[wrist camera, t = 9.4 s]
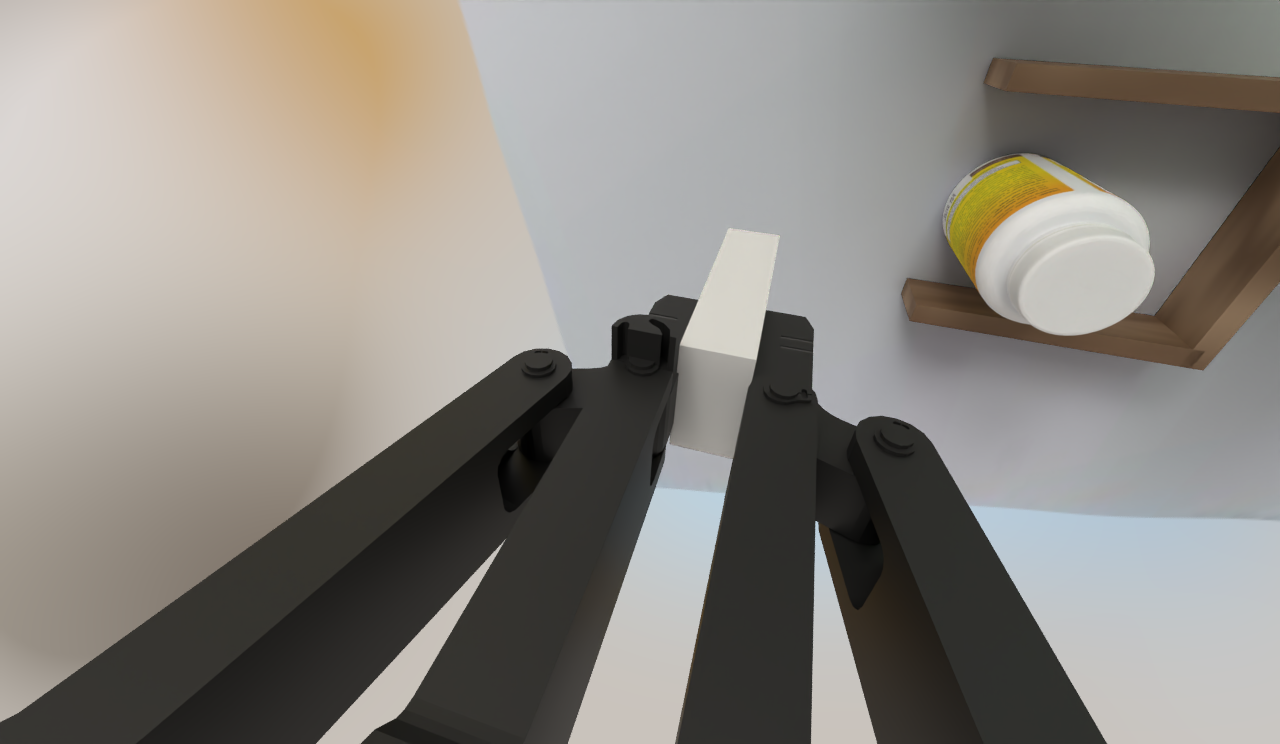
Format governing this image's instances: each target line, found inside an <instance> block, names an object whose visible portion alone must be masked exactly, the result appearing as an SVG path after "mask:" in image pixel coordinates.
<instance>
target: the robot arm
mask: <svg viewBox="0 0 1280 744" xmlns="http://www.w3.org/2000/svg"><path fill="white" fill-rule="evenodd" d="M779 238H780V235H774V234H767V233H760V232H753V231H746V230H739V229H732V228H729V229H728V231H727V233H726V236H725V238H724V241H723V243H722V245H721V248H720V250H719V252H718V255H717V257H716V260H715V262H714V264H713V267H712V269H711V271H710V274H709V276H708V279H707V281H706V283H705V286H704V288H703V291H702V293H701V295H700V298H699V300H695V299H690V298H684V297H678V296H672V295H667V296H665V297H664V298H662V299H660V300H659V301H657V302H655V304H654V306H653V308H652V309H651V311H650V313H649V315H641V314H639V315H632V316H627V317H624V318H622V319H619V320H617V321H616V322H615V323H614V324H613V325H612V360H611V361H610V363H609V365H608V366H606V367H602V368H592V369H572V363H571V361H570V359H569V358H568V356H566V355H565V354H563V353H561V352H560V351H556V350H552V349H533V350H529V351H524V352H523V353H520V354H518V355H516V356H515V357H513V358H512V359H510V360H509V361H507V362H506V363H505V364H503V365H502V366H501V367H499V368H498V369H496V370H495V371H494V372H492V373H491V374H489V375H488V376H487V377H485V378H484V379H482V380H481V381H480V382H478V383H477V384H475V385H474V386H473V387H472V388H470V389H469V390H467V391H466V392H464V393H463V394H462V395H460V396H459V397H457V398H456V399H455V400H453V401H452V402H451V403H449V404H448V405H446V406H445V407H443V408H442V409H441V410H439V411H438V412H437V413H435V414H434V415H432V416H431V417H430V418H428V419H427V420H425V421H424V422H423V423H421V424H420V425H419V426H417V427H416V428H414V429H413V430H411V431H410V432H409V433H407V434H406V435H405V436H403V437H402V438H400V439H399V440H398V441H396V442H395V443H393V444H392V445H391V446H389V447H388V448H387V449H385V450H384V451H382V452H381V453H380V454H378V455H377V456H375V457H374V458H373V459H371V460H370V461H369V462H367V463H366V464H364V465H363V466H361V467H360V468H359V469H357V470H356V471H354V472H353V473H352V474H350V475H349V476H347V477H346V478H345V479H343V480H342V481H341V482H339V483H338V484H336V485H335V486H334V487H332V488H331V489H329V490H328V491H327V492H325V493H324V494H323V495H321V496H320V497H318V498H317V499H316V500H314V501H313V502H312V503H310V504H309V505H307V506H306V507H304V508H303V509H302V510H300V511H299V512H297V513H296V514H295V515H293V516H292V517H291V518H289V519H288V520H286V521H285V522H284V523H282V524H281V525H279V526H278V527H277V528H275V529H274V530H272V531H271V532H270V533H268V534H267V535H266V536H264V537H263V538H262V539H260V540H259V541H257V542H256V543H254V544H253V545H252V546H250V547H249V548H247V549H246V550H245V551H243V552H242V553H240V554H239V555H238V556H236V557H235V558H233V559H232V560H231V561H229V562H228V563H227V564H225V565H224V566H222V567H221V568H220V569H218V570H217V571H215V572H214V573H213V574H211V575H210V576H208V577H207V578H206V579H204V580H203V581H202V582H200V583H199V584H197V585H196V586H194V587H193V588H192V589H190V590H189V591H188V592H186V593H185V594H183V595H182V596H181V597H179V598H178V599H176V600H175V601H174V602H172V603H171V604H170V605H168V606H167V607H165V608H164V609H162V610H161V611H160V612H158V613H157V614H156V615H154V616H153V617H151V618H150V619H149V620H147V621H146V622H145V623H143V624H142V625H140V626H139V627H138V628H136V629H135V630H133V631H132V632H130V633H129V634H128V635H126V636H125V637H124V638H122V639H121V640H119V641H118V642H117V643H115V644H114V645H112V646H111V647H110V648H108V649H107V650H105V651H104V652H103V653H101V654H100V655H99V656H97V657H96V658H94V659H93V660H92V661H90V662H89V663H87V664H86V665H85V666H83V667H82V668H80V669H79V670H78V671H76V672H75V673H73V674H72V675H71V676H69V677H68V678H67V679H65V680H64V681H62V682H61V683H60V684H58V685H57V686H55V687H54V688H53V689H51V690H50V691H48V692H47V693H46V694H44V695H43V696H42V697H40V698H39V699H37V700H36V701H35V702H33V703H32V704H30V705H29V706H28V707H26V708H25V709H23V710H22V711H21V712H19V713H17V714H16V715H14V716H12V717H10V718H8V719H6V720H4V721H2V722H0V744H316V743H317V742H318V741H319V740H320V739H321V737H322V736H323V735H324V734H325V733H326V732H327V731H328V730H329V729H330V728H331V727H332V726H333V724H334V723H335V722H336V721H337V720H338V719H339V718H340V717H341V716H342V715H343V714H344V713H345V712H346V711H347V709H348V708H349V707H350V706H351V705H352V704H353V703H354V702H355V701H356V700H357V699H358V697H360V695H361V694H362V693H363V692H364V691H365V690H366V689H367V688H368V687H369V686H370V685H371V684H372V683H373V681H374V680H375V679H376V678H377V677H378V676H379V675H380V674H381V673H382V672H383V671H384V670H385V669H386V667H387V666H388V665H389V664H390V663H391V662H392V661H393V660H394V659H395V658H396V657H397V655H399V653H400V652H401V651H402V650H403V649H404V648H405V647H406V646H407V645H408V644H409V643H410V642H411V641H412V639H413V638H414V637H415V636H416V635H417V634H418V633H419V632H420V631H421V629H423V628H424V627H425V625H426V624H427V623H428V622H429V621H430V620H431V619H432V618H433V617H434V616H435V615H436V614H437V612H438V611H439V610H440V609H441V608H442V607H443V606H444V605H445V604H446V603H447V602H448V601H449V600H450V598H451V597H452V596H453V595H454V594H455V593H456V592H457V591H458V590H459V589H460V588H461V587H462V586H463V584H464V583H465V582H466V581H467V580H468V579H469V578H470V577H471V576H472V575H473V574H474V572H476V570H477V569H478V568H479V567H480V566H481V565H482V564H483V563H484V562H485V560H487V559H488V557H489V556H490V555H491V554H492V553H493V552H494V551H495V550H496V549H497V548H498V547H499V545H501V544H502V542H503V541H504V540H505V539H506V540H505V542H504V543H503V545H502V547H501V549H500V550H499V552H498V554H497V555H496V557H495V559H494V560H493V562H492V564H491V565H490V567H489V569H488V571H487V572H486V574H485V576H484V577H483V579H482V581H481V582H480V584H479V586H478V588H477V589H476V591H475V593H474V594H473V596H472V598H471V599H470V601H469V603H468V605H467V606H466V608H465V610H464V611H463V613H462V615H461V617H460V618H459V620H458V622H457V623H456V625H455V627H454V628H453V630H452V632H451V634H450V635H449V637H448V639H447V640H446V642H445V644H444V646H443V647H442V649H441V651H440V652H439V654H438V656H437V657H436V659H435V661H434V662H433V664H432V666H431V668H430V669H429V671H428V673H427V675H426V676H425V678H424V680H423V681H422V683H421V685H420V686H419V688H418V690H417V691H416V693H415V695H414V697H413V698H412V699H411V701H410V702H409V704H408V705H407V707H406V708H405V710H404V711H403V712H402V713H401V714H400V715H399V716H398V717H397V718H396V719H394V720H392V721H390V722H388V723H386V724H384V725H382V726H381V727H379V728H377V729H375V730H374V731H373V732H372V733H371V734H370V735H369V736H368V737H367V738H366V739H365V740H364V741H363V742H362V743H361V744H568V741H569V738H570V735H571V732H572V729H573V726H574V723H575V721H576V718H577V715H578V712H579V709H580V706H581V703H582V700H583V697H584V694H585V691H586V688H587V685H588V683H589V679H590V677H591V674H592V671H593V668H594V665H595V662H596V659H597V656H598V653H599V650H600V648H601V645H602V642H603V639H604V636H605V633H606V630H607V627H608V624H609V621H610V618H611V615H612V612H613V609H614V607H615V604H616V601H617V598H618V595H619V592H620V589H621V586H622V583H623V580H624V577H625V575H626V572H627V569H628V566H629V563H630V560H631V557H632V554H633V551H634V548H635V545H636V543H637V540H638V537H639V534H640V531H641V528H642V525H643V522H644V519H645V516H646V513H647V510H648V507H649V505H650V502H651V499H652V496H653V493H654V490H655V487H656V484H657V481H658V478H659V475H660V473H661V470H662V467H663V464H664V460H665V450H666V444H667V441H668V438H669V435H670V444H672V445H676V446H680V447H684V448H689V449H693V450H697V451H701V452H706V453H710V454H714V455H718V456H723V457H727V458H731V459H733V462H732V467H731V471H730V476H729V481H728V485H727V490H726V494H725V499H724V500H725V501H724V506H723V511H722V516H721V520H720V525H719V530H718V535H717V541H716V545H715V550H714V555H713V560H712V565H711V570H710V575H709V580H708V584H707V590H706V594H705V599H704V604H703V609H702V614H701V619H700V624H699V629H698V634H697V639H696V644H695V648H694V653H693V659H692V663H691V668H690V673H689V678H688V683H687V688H686V693H685V698H684V703H683V708H682V712H681V717H680V722H679V727H678V732H677V737H676V742H675V744H811V709H812V661H813V611H814V608H813V607H814V561H815V559H814V558H815V521H817V522H818V524H819V533H820V536H821V540H822V544H823V548H824V551H825V555H826V558H827V562H828V566H829V569H830V573H831V577H832V580H833V584H834V587H835V591H836V595H837V598H838V602H839V606H840V609H841V613H842V616H843V620H844V624H845V627H846V631H847V635H848V639H849V642H850V646H851V649H852V653H853V656H854V660H855V664H856V668H857V671H858V675H859V679H860V682H861V686H862V689H863V693H864V697H865V700H866V704H867V708H868V711H869V715H870V718H871V722H872V726H873V729H874V733H875V737H876V740H877V744H1107V743H1106V741H1105V740H1104V738H1103V736H1102V734H1101V733H1100V731H1099V729H1098V728H1097V726H1096V724H1095V722H1094V721H1093V719H1092V717H1091V716H1090V714H1089V712H1088V710H1087V709H1086V707H1085V705H1084V703H1083V702H1082V700H1081V698H1080V697H1079V695H1078V693H1077V691H1076V690H1075V688H1074V686H1073V685H1072V683H1071V681H1070V679H1069V678H1068V676H1067V675H1066V673H1065V671H1064V669H1063V667H1062V666H1061V664H1060V662H1059V661H1058V659H1057V657H1056V655H1055V654H1054V652H1053V650H1052V648H1051V647H1050V645H1049V643H1048V642H1047V640H1046V638H1045V637H1044V635H1043V633H1042V631H1041V629H1040V628H1039V626H1038V624H1037V623H1036V621H1035V619H1034V618H1033V616H1032V614H1031V612H1030V611H1029V609H1028V607H1027V605H1026V604H1025V602H1024V600H1023V598H1022V597H1021V595H1020V593H1019V592H1018V590H1017V588H1016V586H1015V585H1014V583H1013V581H1012V580H1011V578H1010V576H1009V574H1008V573H1007V571H1006V569H1005V567H1004V566H1003V564H1002V562H1001V561H1000V559H999V557H998V556H997V554H996V552H995V550H994V549H993V547H992V545H991V543H990V542H989V540H988V538H987V537H986V535H985V533H984V531H983V530H982V528H981V526H980V524H979V523H978V521H977V519H976V518H975V516H974V514H973V513H972V511H971V509H970V507H969V506H968V504H967V502H966V500H965V499H964V497H963V495H962V493H961V492H960V490H959V488H958V487H957V485H956V483H955V481H954V480H953V478H952V476H951V475H950V473H949V471H948V469H947V468H946V466H945V464H944V463H943V461H942V459H941V457H940V456H939V454H938V452H937V450H936V449H935V447H934V445H933V444H932V442H931V441H930V440H929V439H928V438H927V437H926V435H925V434H924V433H923V432H921V431H920V430H918V429H917V428H915V427H914V426H912V425H911V424H908V423H906V422H904V421H901V420H899V419H896V418H890V417H885V416H875V417H868V418H866V419H864V420H862V421H860V422H859V424H858V425H857V426H854V425H852V424H850V423H847V422H845V421H843V420H841V419H839V418H837V417H835V416H833V415H831V414H830V413H828V412H827V411H825V410H824V409H823V408H822V407H821V406H820V405H819V404H818V400H817V397H816V394H815V392H814V391H813V390H812V371H813V338H814V329H813V327H812V326H811V324H810V323H809V321H808V320H807V319H806V317H802V316H796V315H791V314H785V313H779V312H773V311H767V310H766V307H767V301H768V296H769V291H770V285H771V280H772V275H773V269H774V264H775V259H776V254H777V248H778V243H779ZM670 432H671V434H670Z"/></svg>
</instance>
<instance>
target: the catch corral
mask: <svg viewBox="0 0 1280 744" xmlns="http://www.w3.org/2000/svg"><path fill="white" fill-rule="evenodd" d="M984 83H985V84H987V85H990V86H993V87H996V88H998V89H1001V90H1004V91H1011V92H1024V93H1036V94H1049V95H1061V96H1074V97H1086V98H1099V99H1111V100H1124V101H1136V102H1149V103H1162V104H1174V105H1187V106H1199V107H1212V108H1224V109H1237V110H1249V111H1262V112H1274V113H1280V78H1279V77H1264V76H1250V75H1235V74H1220V73H1206V72H1191V71H1176V70H1161V69H1147V68H1132V67H1117V66H1103V65H1088V64H1073V63H1059V62H1044V61H1029V60H1015V59H1000V58H993V60H992V62H991V65H990V67H989V70H988V73H987V75H986V78H985V80H984ZM1279 282H1280V147H1279V149H1278V150H1277V151H1276V153H1275V154H1274V156H1273V157H1272V158H1271V160H1270V161H1269V162H1268V164H1267V165H1266V166H1265V168H1264V169H1263V170H1262V172H1261V173H1260V174H1259V176H1258V177H1257V179H1256V180H1255V181H1254V183H1253V184H1252V185H1251V187H1250V188H1249V189H1248V191H1247V192H1246V193H1245V195H1244V196H1243V197H1242V199H1241V200H1240V201H1239V203H1238V204H1237V206H1236V207H1235V208H1234V210H1233V211H1232V212H1231V214H1230V215H1229V216H1228V218H1227V219H1226V220H1225V222H1224V223H1223V224H1222V226H1221V227H1220V228H1219V230H1218V231H1217V233H1216V234H1215V235H1214V237H1213V238H1212V239H1211V241H1210V242H1209V243H1208V245H1207V246H1206V247H1205V249H1204V250H1203V251H1202V253H1201V254H1200V255H1199V257H1198V258H1197V260H1196V261H1195V262H1194V264H1193V265H1192V266H1191V268H1190V269H1189V270H1188V272H1187V273H1186V274H1185V276H1184V277H1183V278H1182V280H1181V281H1180V282H1179V284H1178V285H1177V287H1176V288H1175V289H1174V291H1173V292H1172V293H1171V295H1170V296H1169V297H1168V299H1167V300H1166V301H1165V303H1164V304H1163V305H1162V307H1161V308H1160V310H1159V311H1158V312H1157V314H1156V315H1155V316H1151V315H1145V314H1138V313H1131V314H1129V315H1128V316H1127V317H1125V318H1124V319H1122V320H1121V321H1119V322H1117V323H1115V324H1113V325H1111V326H1109V327H1107V328H1104V329H1102V330H1099V331H1096V332H1092V333H1088V334H1083V335H1074V336H1063V335H1054V334H1049V333H1046V332H1043V331H1041V330H1039V329H1037V328H1035V327H1033V326H1032V325H1030V324H1023V323H1019V322H1015V321H1012V320H1010V319H1007V318H1005V317H1003V316H1001V315H999V314H998V313H996V312H995V311H994V310H993V309H991V308H990V307H989V306H988V304H987V303H986V302H985V301H984V299H983V298H982V297H981V295H980V294H979V292H978V291H977V289H975V288H968V287H962V286H955V285H949V284H942V283H936V282H929V281H922V280H916V279H909V278H907V280H906V282H905V285H904V288H903V290H902V293H901V295H902V298H903V301H904V304H905V308H906V311H907V314H908V317H909V320H910V321H913V322H919V323H925V324H931V325H937V326H943V327H949V328H955V329H960V330H966V331H972V332H978V333H984V334H990V335H996V336H1002V337H1008V338H1014V339H1020V340H1026V341H1032V342H1038V343H1043V344H1049V345H1055V346H1061V347H1067V348H1073V349H1079V350H1085V351H1091V352H1097V353H1103V354H1109V355H1115V356H1121V357H1126V358H1132V359H1138V360H1144V361H1150V362H1156V363H1162V364H1168V365H1174V366H1180V367H1186V368H1192V369H1198V370H1204V369H1205V368H1206V366H1207V365H1208V364H1209V363H1210V362H1211V361H1212V360H1213V358H1214V357H1215V356H1216V355H1217V354H1218V353H1219V352H1220V350H1221V349H1222V348H1223V347H1224V346H1225V345H1226V343H1227V342H1228V341H1229V340H1230V339H1231V338H1232V337H1233V335H1234V334H1235V333H1236V332H1237V331H1238V330H1239V328H1240V327H1241V326H1242V325H1243V324H1244V323H1245V322H1246V320H1247V319H1248V318H1249V317H1250V316H1251V315H1252V313H1253V312H1254V311H1255V310H1256V309H1257V308H1258V307H1259V305H1260V304H1261V303H1262V302H1263V301H1264V300H1265V298H1266V297H1267V296H1268V295H1269V294H1270V293H1271V292H1272V290H1273V289H1274V288H1275V287H1276V286H1277V285H1278V284H1279Z"/></svg>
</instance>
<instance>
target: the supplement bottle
mask: <svg viewBox="0 0 1280 744" xmlns="http://www.w3.org/2000/svg"><path fill="white" fill-rule="evenodd" d="M943 230H944V234H945V237H946V239H947V241H948V243H949V245H950V247H951V248H952V250H953V252H954V253H955V255H956V256H957V258H958V260H959V261H960V263H961V265H962V266H963V268H964V269H965V271H966V273H967V274H968V276H969V277H970V279H971V281H972V282H973V284H974V285H975V287H976V289H977V291H978V292H979V294H980V295H981V297H982V298H983V299H984V301H985V302H986V303H987V304H988V306H989V307H990V308H991V309H993V310H994V311H995V312H996V313H998V314H999V315H1001V316H1003V317H1005V318H1007V319H1010V320H1012V321H1015V322H1019V323H1023V324H1030V325H1032V326H1033V327H1035V328H1037V329H1039V330H1041V331H1043V332H1046V333H1049V334H1054V335H1063V336H1074V335H1083V334H1088V333H1092V332H1096V331H1099V330H1102V329H1104V328H1107V327H1109V326H1111V325H1113V324H1115V323H1117V322H1119V321H1121V320H1122V319H1124V318H1125V317H1127V316H1128V315H1129V314H1131V313H1132V312H1133V311H1134V310H1135V309H1137V308H1138V306H1139V305H1140V304H1141V303H1142V302H1143V301H1144V300H1145V298H1146V297H1147V295H1148V293H1149V292H1150V290H1151V287H1152V285H1153V281H1154V276H1155V268H1154V263H1153V260H1152V258H1151V256H1150V254H1149V247H1150V236H1149V231H1148V227H1147V225H1146V222H1145V220H1144V219H1143V217H1142V216H1141V214H1140V213H1139V212H1138V211H1137V210H1136V209H1135V208H1134V207H1133V206H1132V205H1130V204H1129V203H1128V202H1126V201H1125V200H1123V199H1121V198H1120V197H1118V196H1116V195H1114V194H1113V193H1111V192H1109V191H1107V190H1105V189H1104V188H1102V187H1100V186H1099V185H1097V184H1095V183H1093V182H1091V181H1090V180H1088V179H1086V178H1085V177H1083V176H1081V175H1080V174H1078V173H1076V172H1074V171H1072V170H1071V169H1069V168H1067V167H1065V166H1063V165H1061V164H1059V163H1058V162H1056V161H1054V160H1052V159H1050V158H1047V157H1044V156H1041V155H1037V154H1030V153H1018V154H1010V155H1006V156H1002V157H998V158H996V159H993V160H990V161H988V162H986V163H984V164H982V165H981V166H979V167H977V168H976V169H974V170H973V171H971V172H970V173H969V174H968V175H966V176H965V177H964V178H963V179H962V180H961V181H960V182H959V184H958V185H957V186H956V187H955V189H954V190H953V191H952V193H951V195H950V196H949V198H948V200H947V203H946V205H945V208H944V212H943Z"/></svg>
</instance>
